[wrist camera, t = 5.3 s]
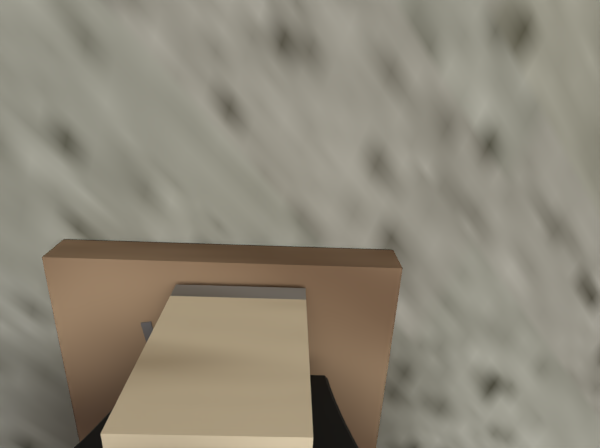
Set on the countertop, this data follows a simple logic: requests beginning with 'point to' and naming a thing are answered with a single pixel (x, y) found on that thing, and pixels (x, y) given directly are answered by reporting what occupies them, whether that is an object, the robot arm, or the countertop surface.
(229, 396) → the block
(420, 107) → the countertop surface
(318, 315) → the board
